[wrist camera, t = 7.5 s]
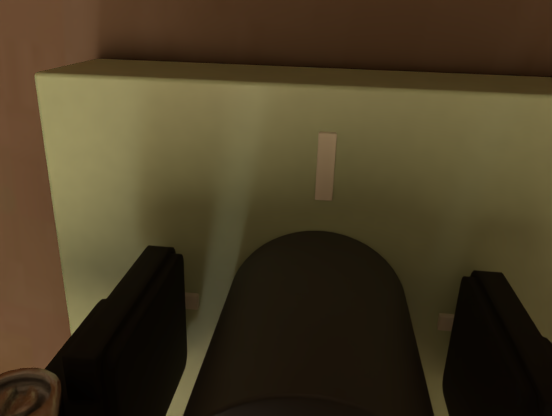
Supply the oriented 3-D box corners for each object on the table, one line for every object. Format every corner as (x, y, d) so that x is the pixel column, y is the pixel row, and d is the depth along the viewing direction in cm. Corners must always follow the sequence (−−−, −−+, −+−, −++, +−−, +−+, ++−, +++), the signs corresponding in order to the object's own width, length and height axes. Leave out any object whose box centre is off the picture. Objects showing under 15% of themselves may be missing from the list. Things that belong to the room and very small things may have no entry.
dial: (416, 235, 11) (486, 430, 6) (396, 389, 12) (437, 648, 7) (227, 224, 11) (141, 397, 6) (230, 374, 13) (162, 611, 8)
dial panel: (506, 411, 16) (545, 504, 13) (126, 374, 17) (82, 452, 14) (588, 78, 12) (669, 101, 9) (96, 57, 13) (27, 72, 10)
